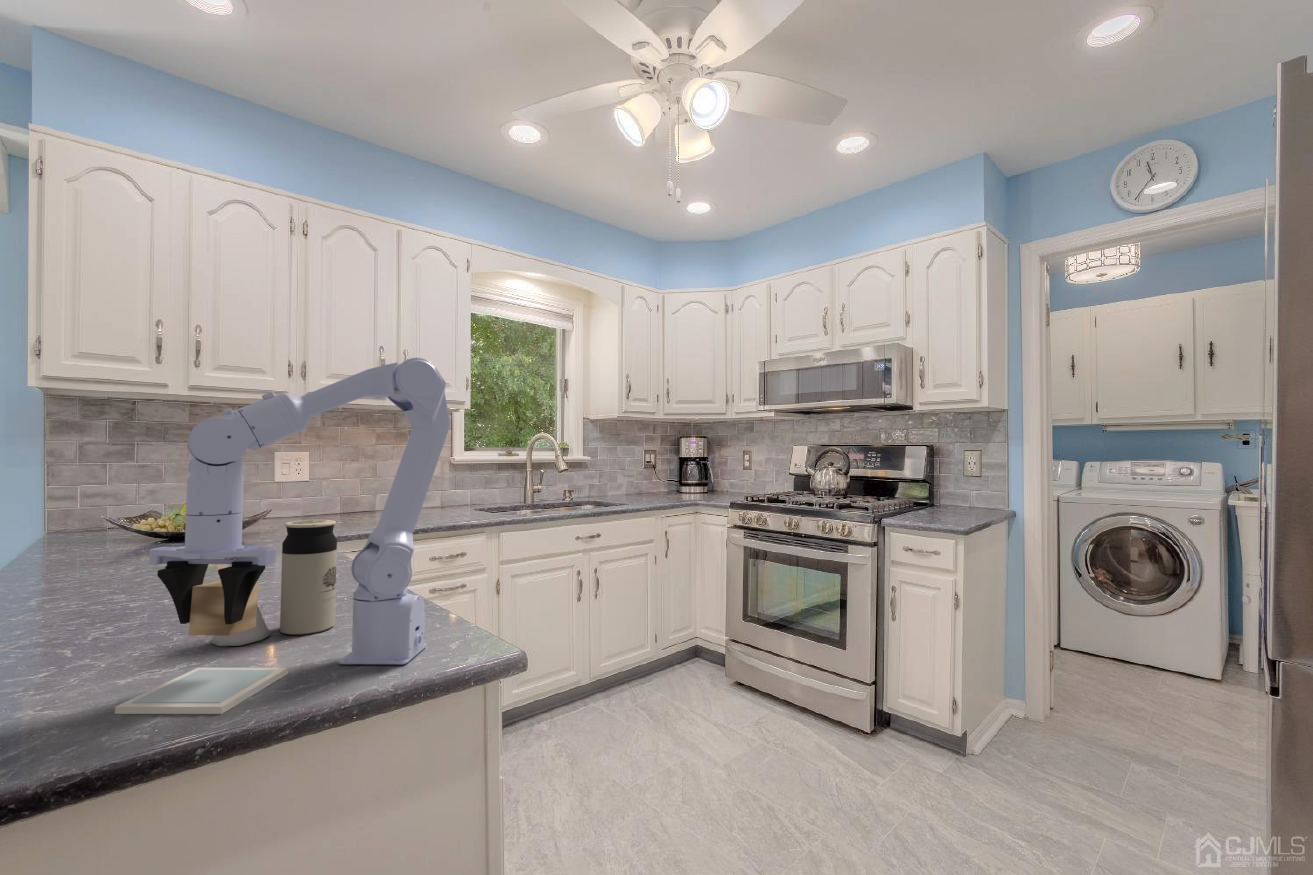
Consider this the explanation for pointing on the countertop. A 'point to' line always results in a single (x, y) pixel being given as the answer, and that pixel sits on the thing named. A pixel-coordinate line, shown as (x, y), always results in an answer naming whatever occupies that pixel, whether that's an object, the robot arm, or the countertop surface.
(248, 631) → the flask
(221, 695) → the picture frame
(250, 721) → the countertop surface
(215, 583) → the oak block
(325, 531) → the travel mug
